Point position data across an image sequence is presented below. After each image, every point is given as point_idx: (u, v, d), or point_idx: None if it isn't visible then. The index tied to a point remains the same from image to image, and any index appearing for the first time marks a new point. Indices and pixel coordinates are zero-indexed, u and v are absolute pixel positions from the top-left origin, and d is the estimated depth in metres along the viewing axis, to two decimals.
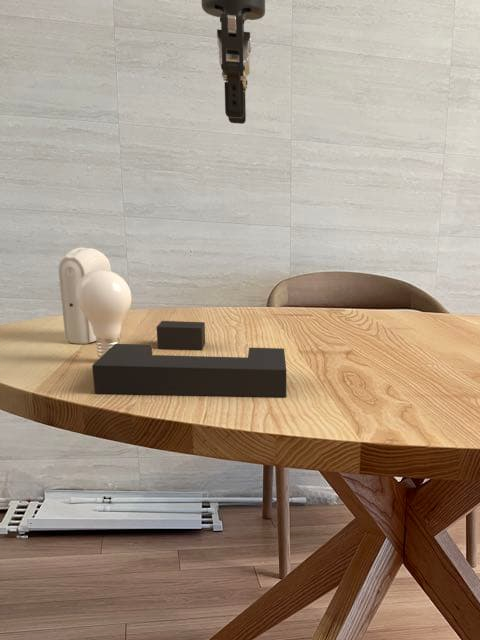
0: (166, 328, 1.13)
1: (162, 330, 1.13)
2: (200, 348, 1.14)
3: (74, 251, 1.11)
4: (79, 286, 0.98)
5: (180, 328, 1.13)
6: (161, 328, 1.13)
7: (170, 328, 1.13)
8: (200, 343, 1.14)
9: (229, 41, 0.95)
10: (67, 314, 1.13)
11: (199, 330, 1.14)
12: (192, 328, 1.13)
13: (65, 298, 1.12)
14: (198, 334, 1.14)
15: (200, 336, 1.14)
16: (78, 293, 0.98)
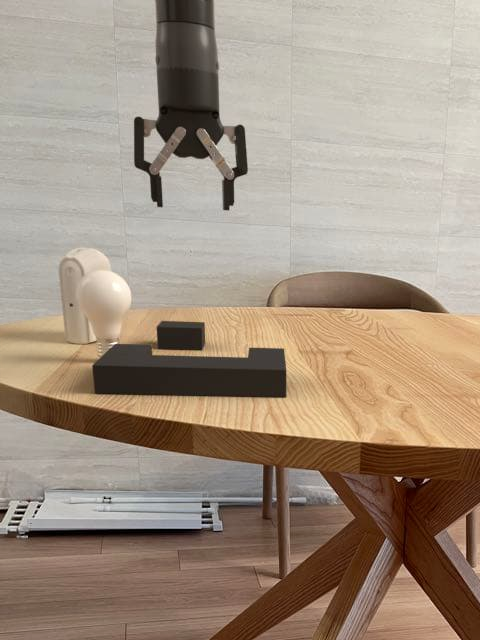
0: (166, 328, 1.13)
1: (162, 330, 1.13)
2: (200, 348, 1.14)
3: (74, 251, 1.11)
4: (79, 286, 0.98)
5: (180, 328, 1.13)
6: (161, 328, 1.13)
7: (170, 328, 1.13)
8: (200, 343, 1.14)
9: None
10: (67, 314, 1.13)
11: (199, 330, 1.14)
12: (192, 328, 1.13)
13: (65, 298, 1.12)
14: (198, 334, 1.14)
15: (200, 336, 1.14)
16: (78, 293, 0.98)
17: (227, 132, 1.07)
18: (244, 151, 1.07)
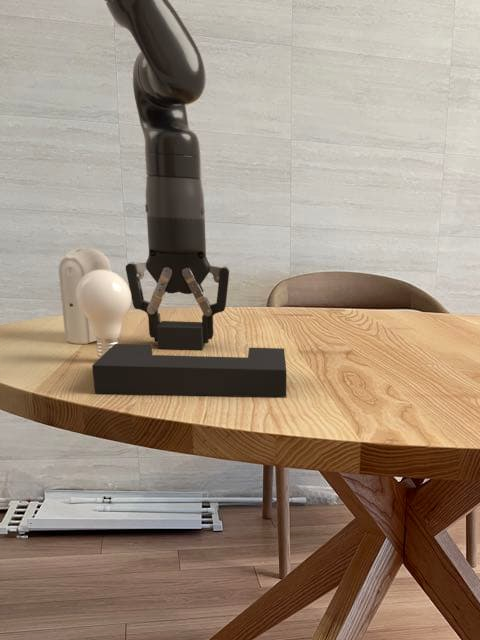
0: (166, 328, 1.13)
1: (162, 330, 1.13)
2: (200, 348, 1.14)
3: (74, 251, 1.11)
4: (79, 286, 0.98)
5: (180, 328, 1.13)
6: (161, 328, 1.13)
7: (170, 328, 1.13)
8: (200, 343, 1.14)
9: None
10: (67, 314, 1.13)
11: (199, 330, 1.14)
12: (192, 328, 1.13)
13: (65, 298, 1.12)
14: (198, 334, 1.14)
15: (200, 336, 1.14)
16: (78, 293, 0.98)
17: (212, 271, 1.13)
18: (224, 291, 1.14)
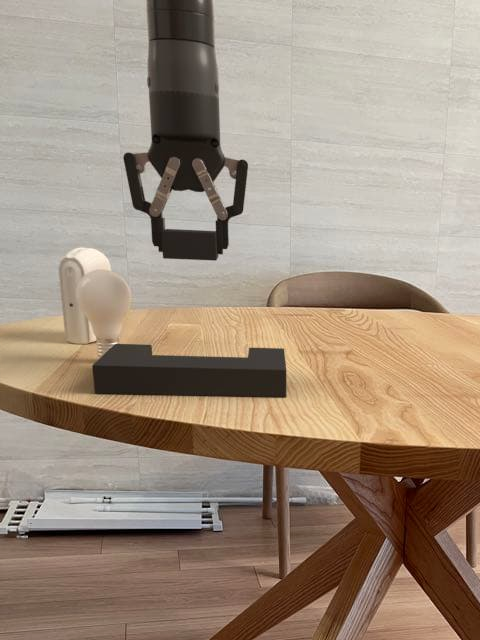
0: (173, 233, 0.94)
1: (168, 235, 0.94)
2: (214, 258, 0.95)
3: (74, 251, 1.11)
4: (79, 286, 0.98)
5: (190, 233, 0.94)
6: (167, 232, 0.93)
7: (178, 233, 0.94)
8: (214, 252, 0.95)
9: None
10: (67, 314, 1.13)
11: (213, 236, 0.94)
12: (204, 233, 0.94)
13: (65, 298, 1.12)
14: (211, 241, 0.95)
15: (214, 243, 0.95)
16: (78, 293, 0.98)
17: (228, 165, 0.94)
18: (243, 189, 0.95)
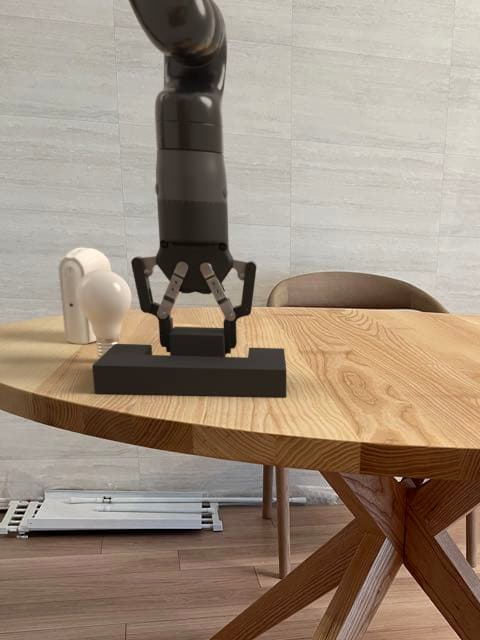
0: (181, 336, 0.93)
1: (176, 338, 0.93)
2: None
3: (74, 251, 1.11)
4: (79, 286, 0.98)
5: (198, 336, 0.93)
6: (175, 336, 0.93)
7: (185, 336, 0.93)
8: (222, 354, 0.94)
9: None
10: (67, 314, 1.13)
11: (220, 338, 0.94)
12: (212, 335, 0.94)
13: (65, 298, 1.12)
14: (219, 343, 0.94)
15: (222, 345, 0.94)
16: (78, 293, 0.98)
17: (236, 267, 0.93)
18: (251, 291, 0.94)
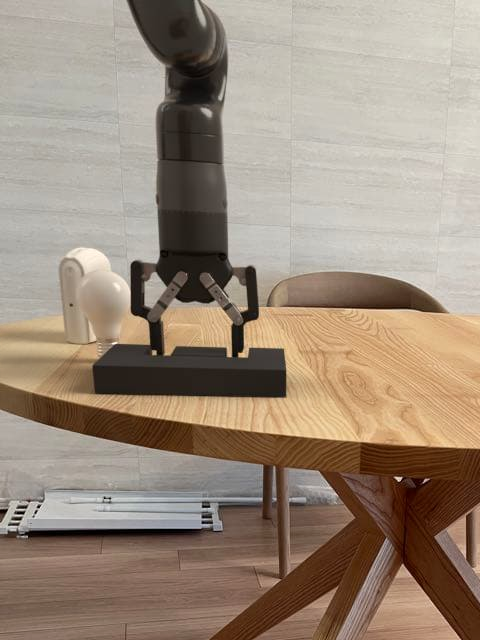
0: None
1: None
2: None
3: (74, 251, 1.11)
4: (79, 286, 0.98)
5: None
6: None
7: None
8: None
9: None
10: (67, 314, 1.13)
11: None
12: (213, 356, 0.94)
13: (65, 298, 1.12)
14: None
15: None
16: (78, 293, 0.98)
17: (236, 274, 0.94)
18: (255, 295, 0.94)
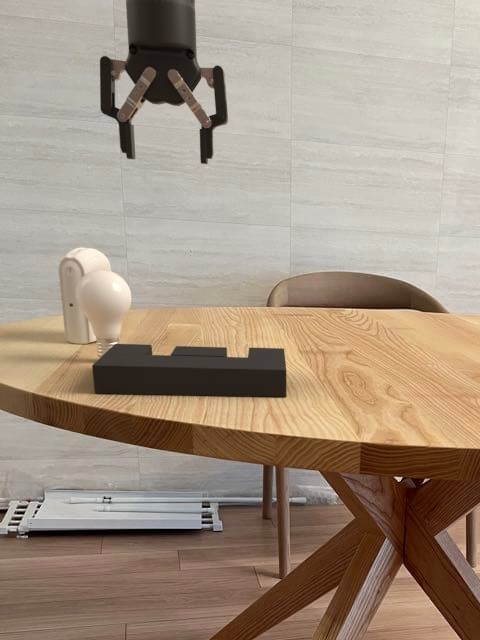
0: None
1: None
2: None
3: (74, 251, 1.11)
4: (79, 286, 0.98)
5: None
6: None
7: None
8: None
9: None
10: (67, 314, 1.13)
11: None
12: (213, 356, 0.94)
13: (65, 298, 1.12)
14: None
15: None
16: (78, 293, 0.98)
17: (204, 75, 0.96)
18: (222, 96, 0.96)
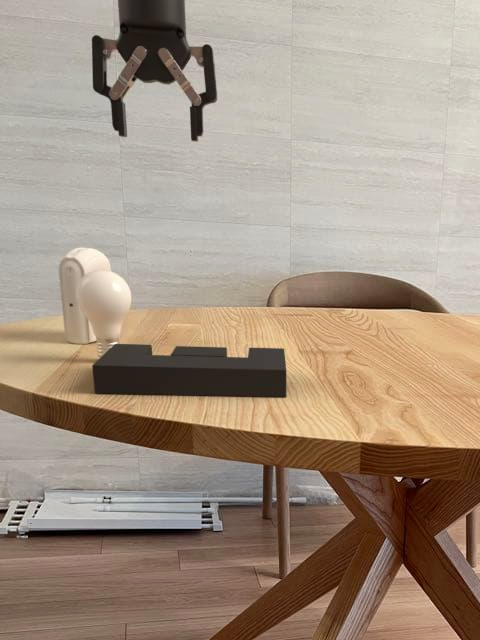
0: None
1: None
2: None
3: (74, 251, 1.11)
4: (79, 286, 0.98)
5: None
6: None
7: None
8: None
9: None
10: (67, 314, 1.13)
11: None
12: (213, 356, 0.94)
13: (65, 298, 1.12)
14: None
15: None
16: (78, 293, 0.98)
17: (194, 53, 0.98)
18: (212, 74, 0.99)
